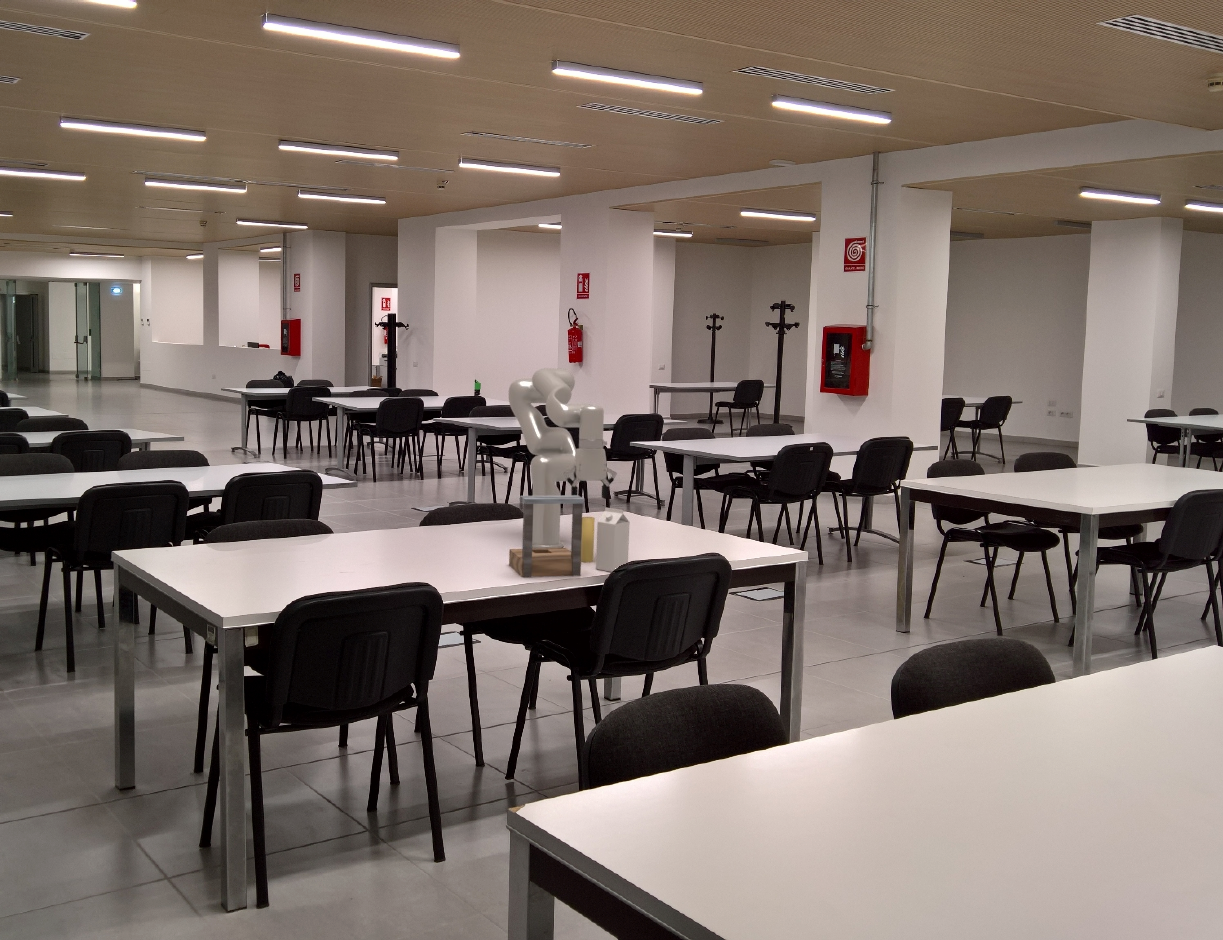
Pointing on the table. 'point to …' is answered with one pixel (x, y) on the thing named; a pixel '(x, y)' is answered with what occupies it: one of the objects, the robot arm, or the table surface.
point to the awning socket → (548, 559)
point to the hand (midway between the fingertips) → (589, 498)
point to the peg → (587, 539)
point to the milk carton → (612, 540)
